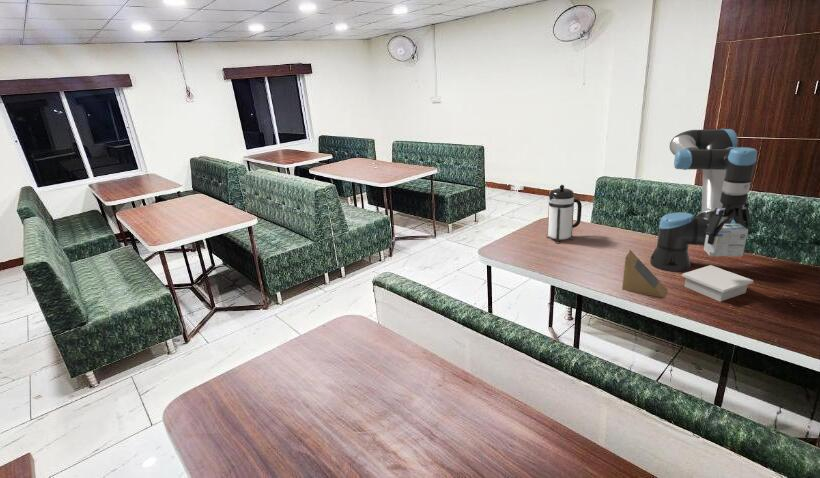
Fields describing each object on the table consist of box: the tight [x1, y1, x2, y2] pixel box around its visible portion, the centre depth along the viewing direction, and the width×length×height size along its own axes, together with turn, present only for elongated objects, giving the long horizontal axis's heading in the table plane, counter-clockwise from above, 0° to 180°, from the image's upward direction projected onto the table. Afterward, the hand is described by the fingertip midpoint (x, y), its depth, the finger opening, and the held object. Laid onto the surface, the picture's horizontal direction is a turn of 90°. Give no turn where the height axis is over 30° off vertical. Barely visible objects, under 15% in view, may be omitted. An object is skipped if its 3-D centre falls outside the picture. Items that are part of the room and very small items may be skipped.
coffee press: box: [545, 184, 583, 243], centre depth 218 cm, size 17×16×30 cm
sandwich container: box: [621, 249, 668, 299], centre depth 162 cm, size 9×15×15 cm, turn 54°
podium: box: [681, 264, 754, 302], centre depth 159 cm, size 16×16×6 cm
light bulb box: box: [703, 224, 749, 257], centre depth 151 cm, size 11×7×11 cm, turn 76°
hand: (723, 248), depth 153 cm, fingers closed on light bulb box, 12 cm apart
